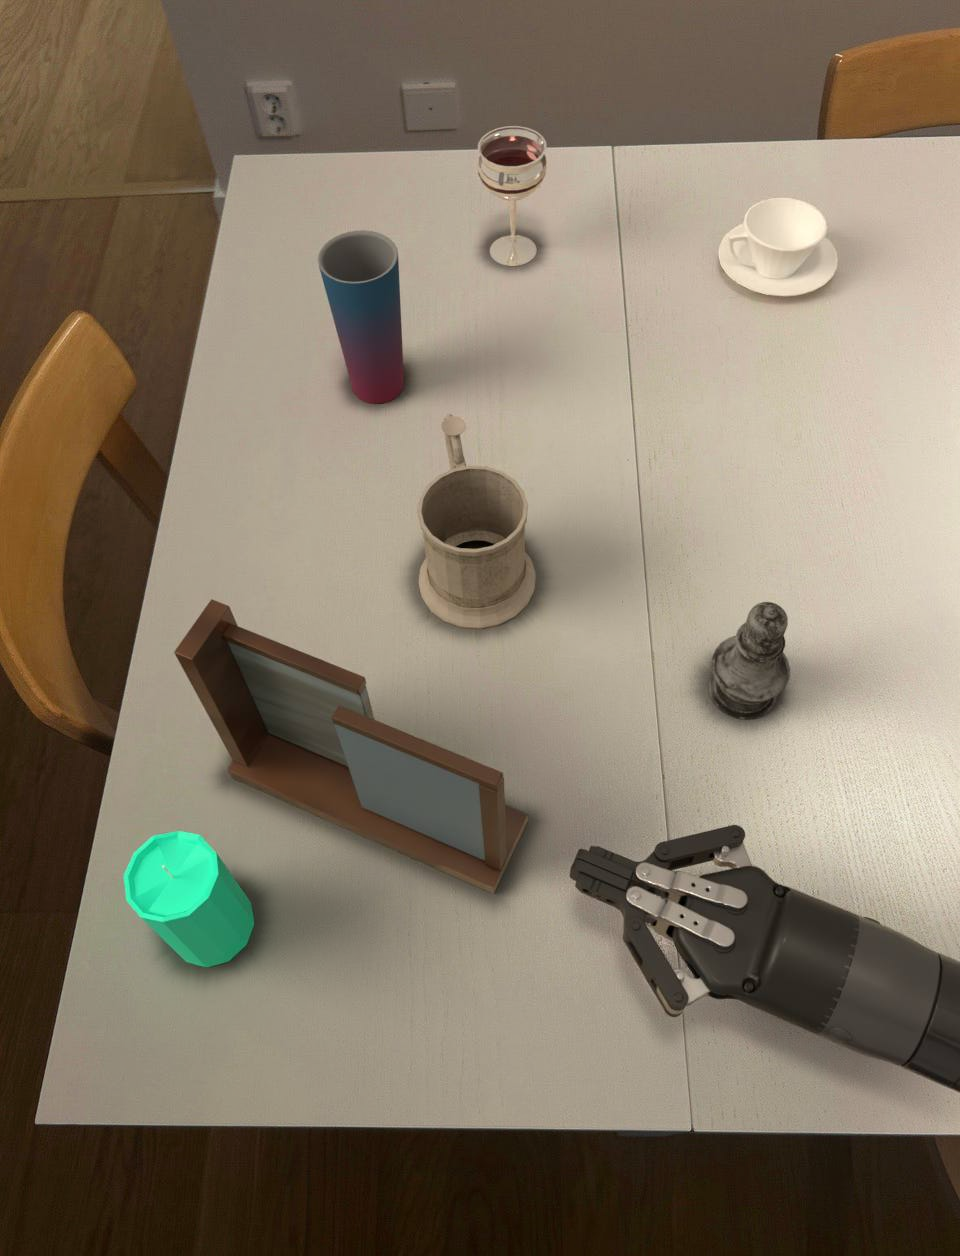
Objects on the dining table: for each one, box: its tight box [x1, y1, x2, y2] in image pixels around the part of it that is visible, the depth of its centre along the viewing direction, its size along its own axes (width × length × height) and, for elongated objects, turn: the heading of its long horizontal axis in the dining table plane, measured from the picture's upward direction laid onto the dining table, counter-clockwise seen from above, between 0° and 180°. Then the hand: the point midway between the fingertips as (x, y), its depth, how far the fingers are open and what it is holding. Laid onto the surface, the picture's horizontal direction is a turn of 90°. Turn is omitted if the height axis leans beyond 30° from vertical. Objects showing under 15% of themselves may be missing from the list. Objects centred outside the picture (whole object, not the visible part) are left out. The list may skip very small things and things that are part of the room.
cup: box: [317, 229, 405, 405], centre depth 96 cm, size 7×7×15 cm
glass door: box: [332, 706, 507, 870], centre depth 70 cm, size 1×11×14 cm, turn 65°
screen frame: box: [173, 598, 528, 895], centre depth 72 cm, size 6×22×18 cm, turn 65°
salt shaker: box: [708, 601, 791, 720], centre depth 78 cm, size 6×6×12 cm
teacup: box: [717, 197, 839, 297], centre depth 107 cm, size 12×12×5 cm
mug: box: [416, 413, 537, 630], centre depth 86 cm, size 14×10×12 cm
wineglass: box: [477, 125, 548, 267], centre depth 107 cm, size 7×7×12 cm
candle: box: [123, 830, 255, 968], centre depth 70 cm, size 6×6×12 cm
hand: (574, 862), depth 68 cm, fingers closed
